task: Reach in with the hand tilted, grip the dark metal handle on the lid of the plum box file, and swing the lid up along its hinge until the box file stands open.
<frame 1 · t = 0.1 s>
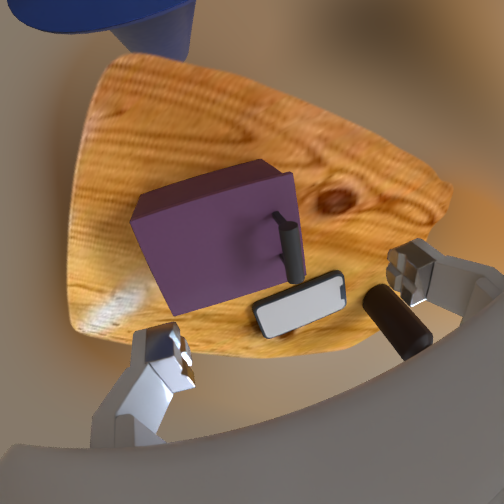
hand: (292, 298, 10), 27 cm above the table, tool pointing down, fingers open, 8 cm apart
file lid: (230, 261, 27), point 11 cm above the table, hinge at 0.0°
bottle: (375, 296, 52), on the table
phone case: (300, 302, 47), on the table
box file: (213, 220, 36), on the table
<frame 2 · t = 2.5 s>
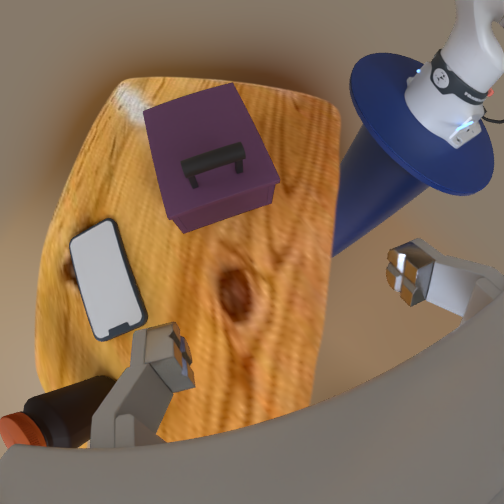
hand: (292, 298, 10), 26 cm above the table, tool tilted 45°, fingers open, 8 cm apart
file lid: (200, 128, 28), point 11 cm above the table, hinge at 0.0°
bottle: (107, 396, 32), on the table
phone case: (107, 279, 36), on the table
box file: (210, 170, 39), on the table
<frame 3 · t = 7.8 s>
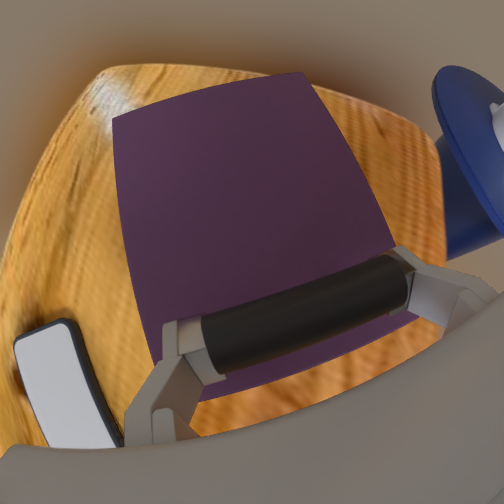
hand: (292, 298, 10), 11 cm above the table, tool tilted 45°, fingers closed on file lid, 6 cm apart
file lid: (248, 177, 11), point 11 cm above the table, hinge at 0.0°, touching gripper
phone case: (74, 412, 18), on the table
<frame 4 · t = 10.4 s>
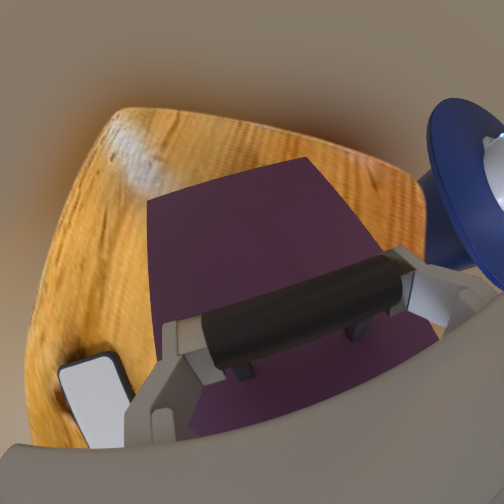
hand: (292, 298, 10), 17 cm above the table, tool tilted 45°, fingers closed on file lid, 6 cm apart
file lid: (257, 229, 13), point 14 cm above the table, hinge at 27.9°, touching gripper
phone case: (115, 424, 23), on the table
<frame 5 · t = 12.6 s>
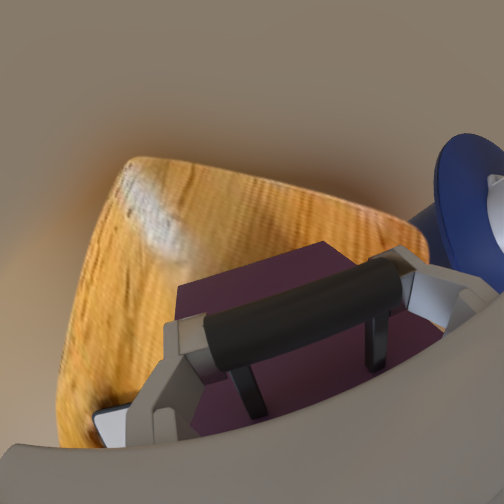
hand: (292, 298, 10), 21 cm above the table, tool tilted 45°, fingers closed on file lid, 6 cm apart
file lid: (273, 286, 14), point 16 cm above the table, hinge at 55.4°, touching gripper
phone case: (148, 459, 25), on the table
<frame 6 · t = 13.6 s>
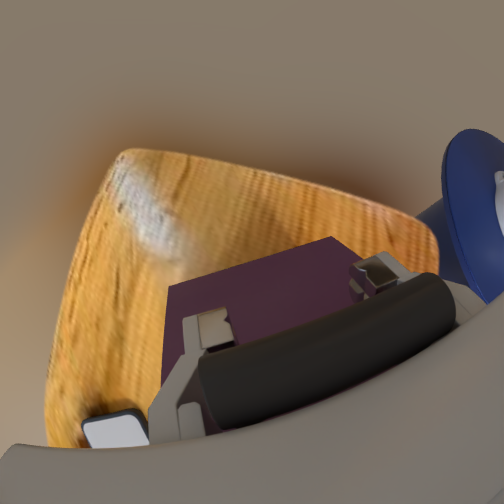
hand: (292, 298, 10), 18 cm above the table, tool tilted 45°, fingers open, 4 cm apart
file lid: (281, 295, 12), point 16 cm above the table, hinge at 52.7°
phone case: (141, 470, 23), on the table
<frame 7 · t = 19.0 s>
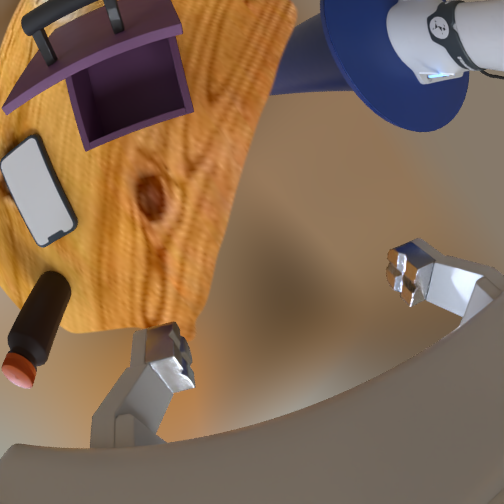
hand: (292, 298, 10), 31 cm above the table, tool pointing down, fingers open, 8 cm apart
file lid: (89, 6, 12), point 16 cm above the table, hinge at 52.7°
bottle: (55, 286, 39), on the table
phone case: (38, 190, 31), on the table
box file: (132, 73, 28), on the table
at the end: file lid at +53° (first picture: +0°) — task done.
